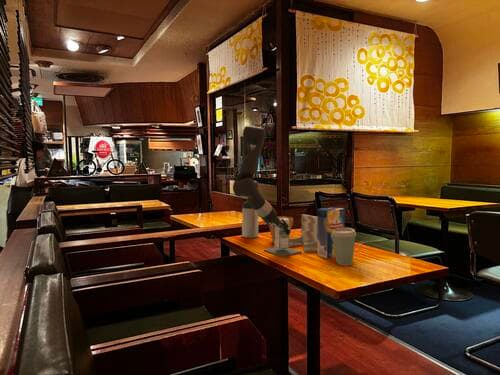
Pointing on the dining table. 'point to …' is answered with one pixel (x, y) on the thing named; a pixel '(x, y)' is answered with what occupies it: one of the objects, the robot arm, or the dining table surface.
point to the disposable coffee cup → (344, 245)
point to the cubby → (307, 234)
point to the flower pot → (273, 228)
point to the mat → (282, 251)
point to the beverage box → (328, 229)
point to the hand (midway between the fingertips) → (284, 232)
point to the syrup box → (281, 236)
